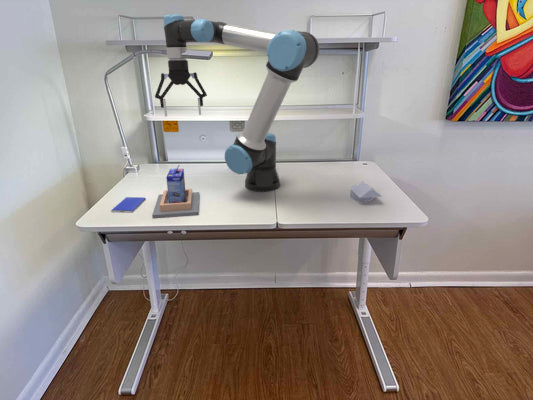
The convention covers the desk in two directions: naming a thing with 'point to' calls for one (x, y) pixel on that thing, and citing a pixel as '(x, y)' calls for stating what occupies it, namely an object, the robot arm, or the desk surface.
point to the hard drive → (129, 205)
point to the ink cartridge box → (176, 186)
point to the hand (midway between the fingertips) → (183, 115)
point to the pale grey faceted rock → (363, 192)
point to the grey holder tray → (177, 205)
